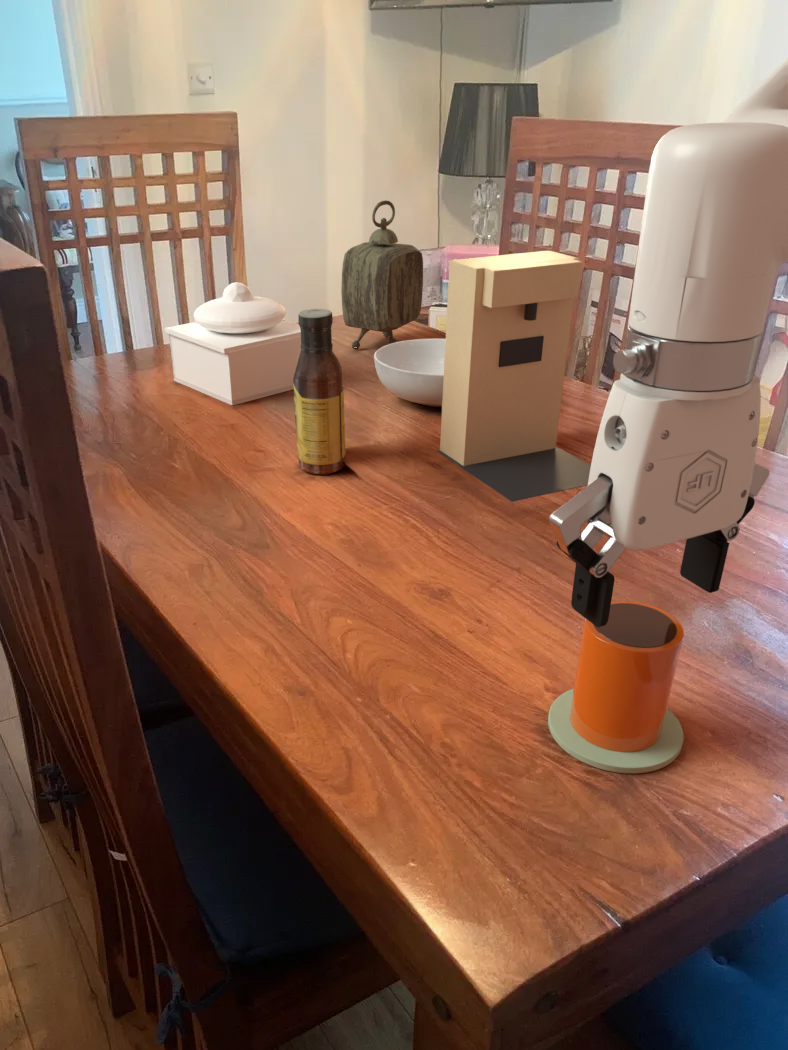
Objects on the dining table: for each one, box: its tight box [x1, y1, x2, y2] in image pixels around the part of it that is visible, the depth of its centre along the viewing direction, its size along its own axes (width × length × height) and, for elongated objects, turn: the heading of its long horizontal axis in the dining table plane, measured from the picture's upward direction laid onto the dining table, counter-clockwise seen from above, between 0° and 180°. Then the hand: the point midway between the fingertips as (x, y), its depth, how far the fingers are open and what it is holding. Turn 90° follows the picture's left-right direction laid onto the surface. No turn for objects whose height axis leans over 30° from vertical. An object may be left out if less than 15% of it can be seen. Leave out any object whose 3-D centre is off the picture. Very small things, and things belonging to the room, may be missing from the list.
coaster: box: [547, 688, 685, 775], centre depth 67 cm, size 10×10×1 cm
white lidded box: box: [164, 281, 301, 406], centre depth 140 cm, size 18×18×16 cm
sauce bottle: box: [293, 308, 347, 476], centre depth 107 cm, size 6×6×20 cm
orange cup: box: [570, 600, 685, 752], centre depth 64 cm, size 7×7×9 cm
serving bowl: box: [373, 337, 446, 408], centre depth 134 cm, size 21×21×7 cm
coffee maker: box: [436, 250, 591, 503], centre depth 103 cm, size 18×15×25 cm
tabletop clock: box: [341, 200, 424, 350], centre depth 157 cm, size 14×9×25 cm, turn 145°
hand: (644, 599), depth 61 cm, fingers open, 9 cm apart
